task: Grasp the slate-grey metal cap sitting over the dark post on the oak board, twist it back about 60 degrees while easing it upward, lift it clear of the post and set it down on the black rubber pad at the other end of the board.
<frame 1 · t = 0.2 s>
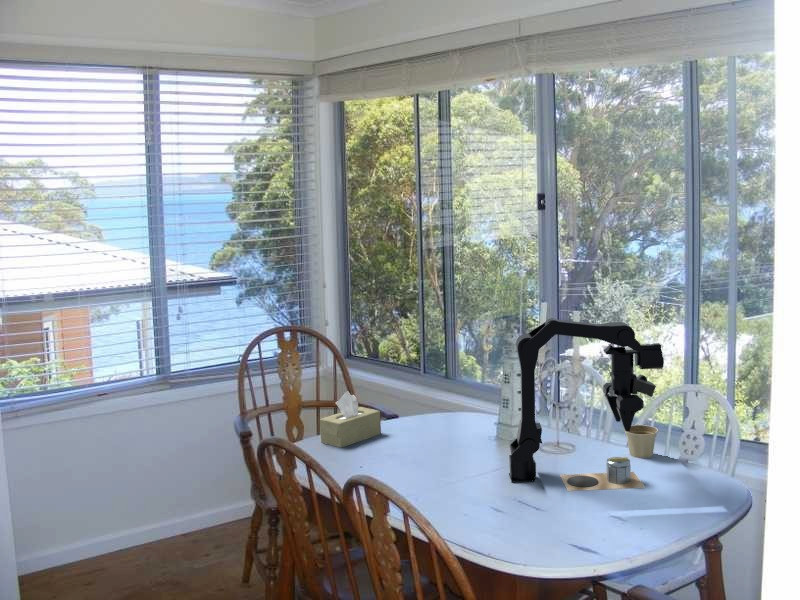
hand: (622, 426, 225), 14 cm above the table, fingers open, 9 cm apart
cap: (618, 480, 221), point 1 cm above the table, touching board
board: (601, 485, 221), on the table
tissue box: (351, 439, 275), on the table
flower pot: (641, 459, 240), on the table
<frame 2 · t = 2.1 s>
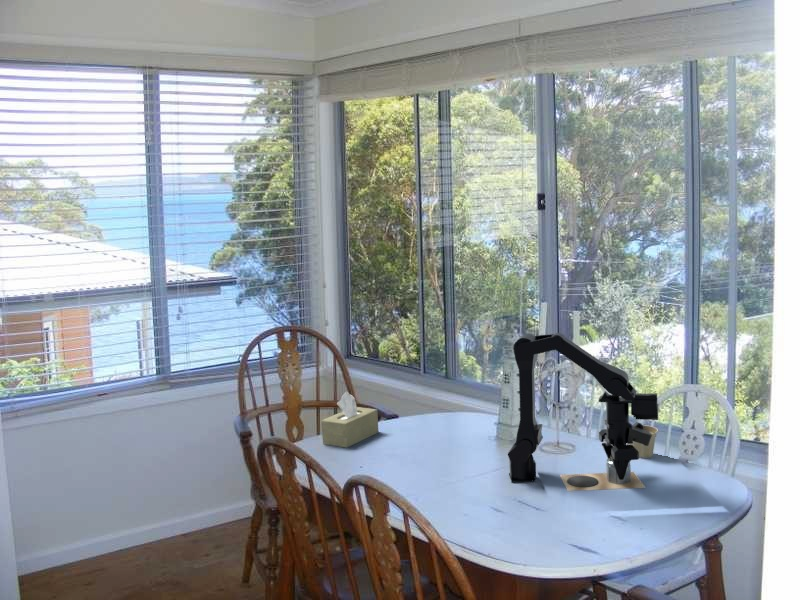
hand: (618, 475, 220), 3 cm above the table, fingers closed on cap, 6 cm apart
cap: (618, 480, 221), point 1 cm above the table, touching board, gripper
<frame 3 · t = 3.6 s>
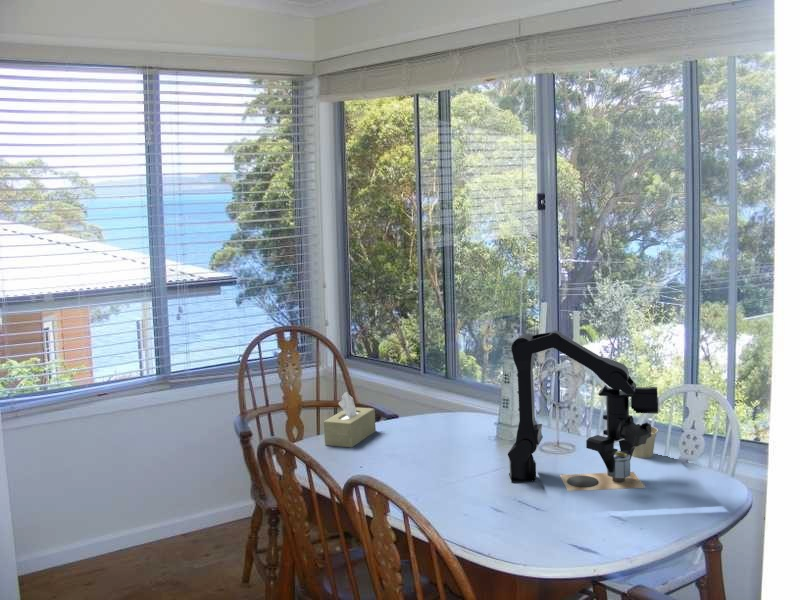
hand: (618, 469, 220), 4 cm above the table, fingers closed on cap, 6 cm apart
cap: (618, 474, 220), point 3 cm above the table, touching gripper
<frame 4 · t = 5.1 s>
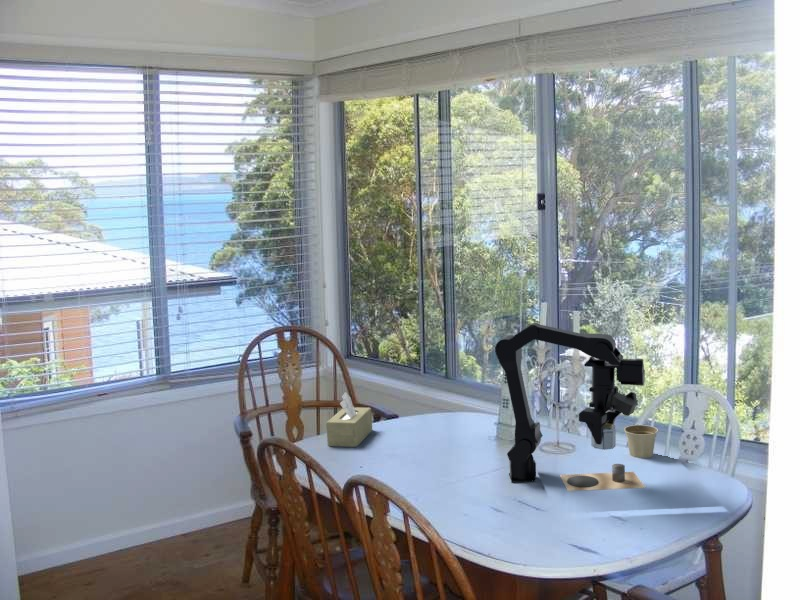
hand: (603, 441, 219), 12 cm above the table, fingers closed on cap, 6 cm apart
cap: (603, 445, 219), point 11 cm above the table, touching gripper
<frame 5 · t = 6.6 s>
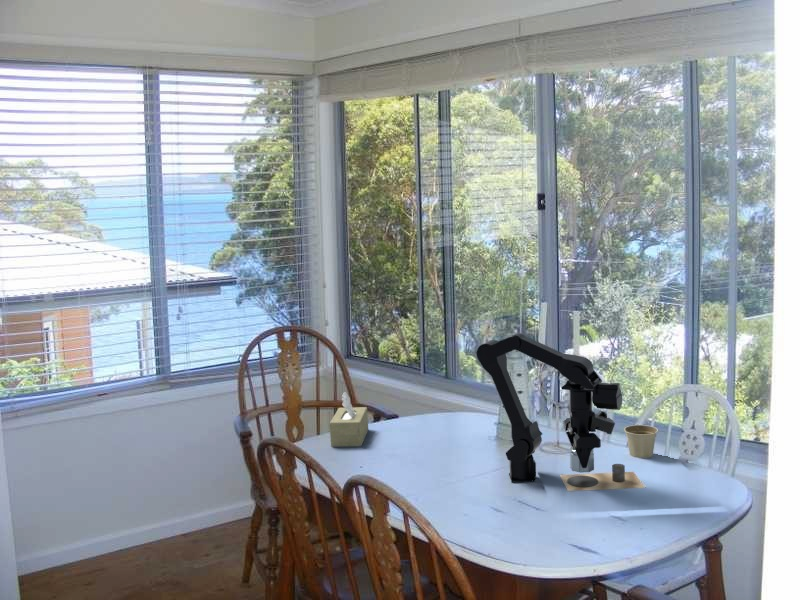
hand: (581, 464, 220), 6 cm above the table, fingers closed on cap, 6 cm apart
cap: (582, 468, 220), point 5 cm above the table, touching gripper
when the fingers open (4 cm above the table, at t = 7.8 s): cap drops 1 cm, resting on board.
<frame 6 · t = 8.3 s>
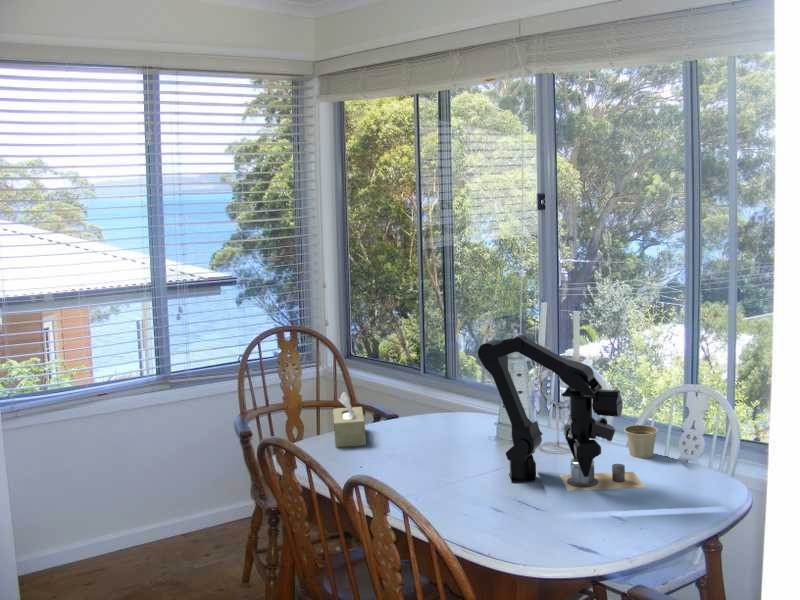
hand: (582, 470, 220), 4 cm above the table, fingers open, 9 cm apart
cap: (582, 480, 221), point 1 cm above the table, touching board
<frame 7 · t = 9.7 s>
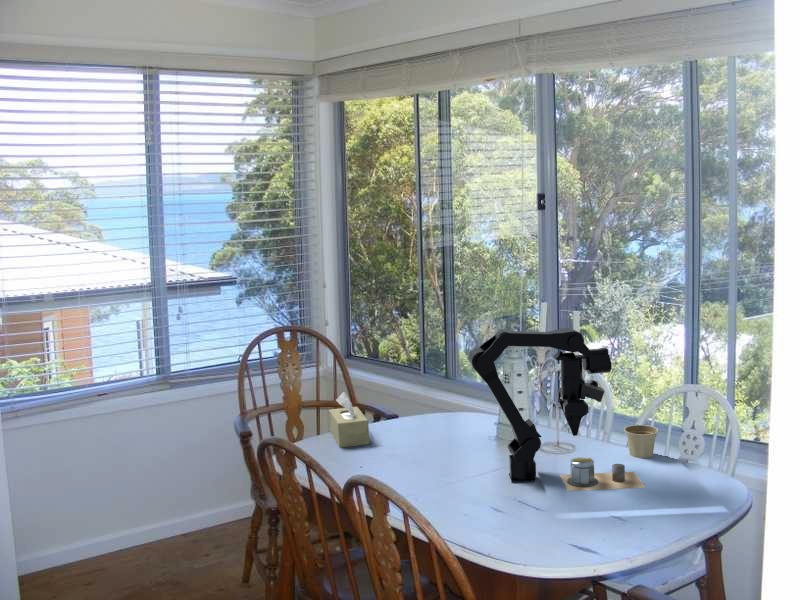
hand: (572, 430, 228), 12 cm above the table, fingers open, 9 cm apart
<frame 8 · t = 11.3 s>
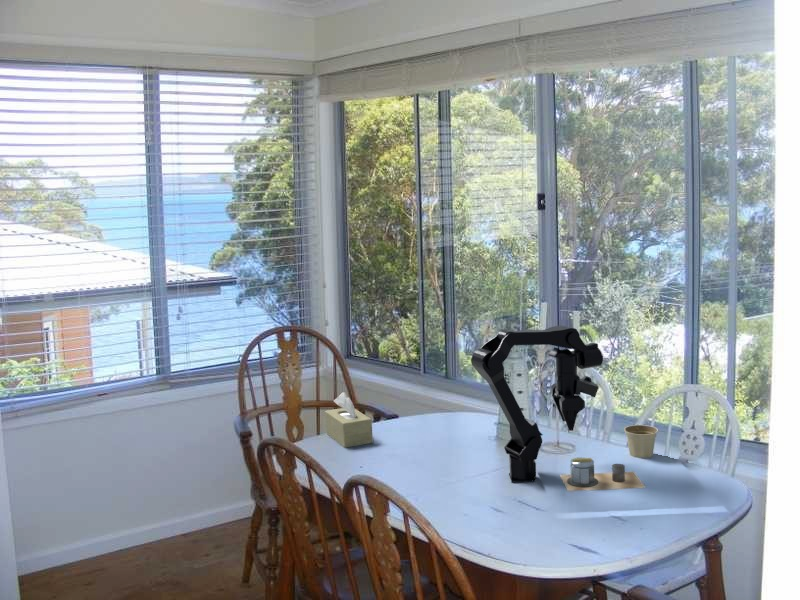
hand: (567, 425, 233), 12 cm above the table, fingers open, 9 cm apart
at the end: cap 0.0 cm from the target spot on the board, point 1.5 cm above the board's base; cap tilted 0°; the gripper is holding nothing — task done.
